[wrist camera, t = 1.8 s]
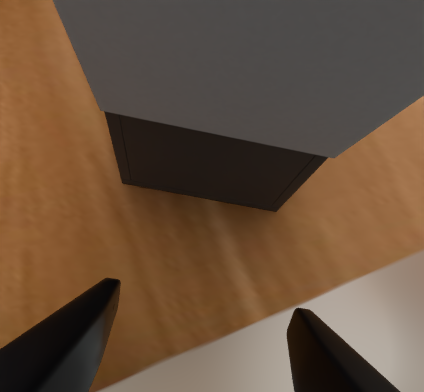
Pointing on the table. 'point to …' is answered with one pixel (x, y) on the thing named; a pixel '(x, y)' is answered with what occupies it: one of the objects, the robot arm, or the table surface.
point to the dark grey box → (207, 163)
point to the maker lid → (253, 65)
